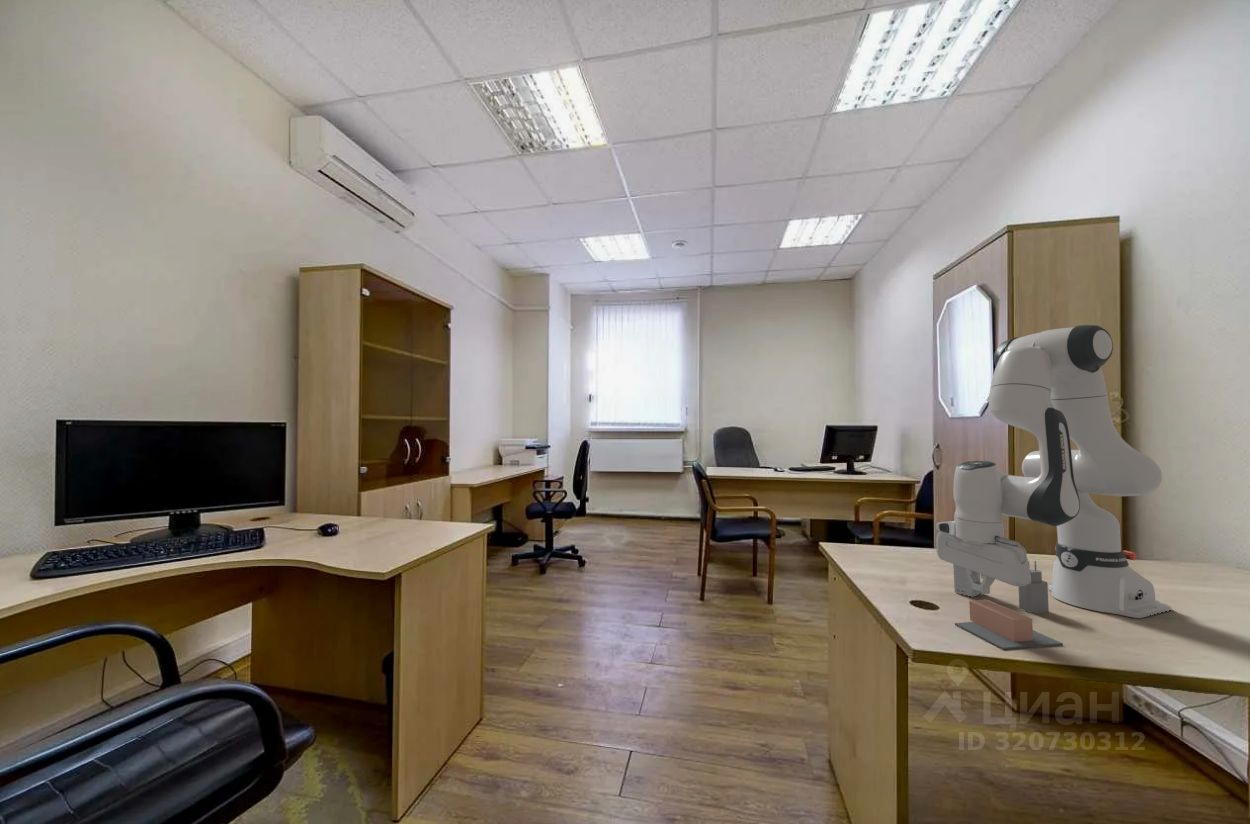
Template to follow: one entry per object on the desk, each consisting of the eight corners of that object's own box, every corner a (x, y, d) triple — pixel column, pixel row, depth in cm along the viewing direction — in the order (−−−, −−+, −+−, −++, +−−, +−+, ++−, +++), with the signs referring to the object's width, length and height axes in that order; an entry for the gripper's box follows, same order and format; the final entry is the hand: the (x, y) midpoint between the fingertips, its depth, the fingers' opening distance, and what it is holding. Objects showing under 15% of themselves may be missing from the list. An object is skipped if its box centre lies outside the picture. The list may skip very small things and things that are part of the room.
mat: (1009, 621, 99) (1009, 619, 99) (1062, 645, 88) (1062, 643, 88) (954, 624, 97) (954, 623, 97) (1002, 649, 86) (1002, 647, 86)
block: (986, 599, 99) (1032, 618, 90) (987, 619, 99) (1033, 640, 89) (969, 600, 99) (1013, 619, 89) (970, 620, 99) (1014, 641, 89)
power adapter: (1017, 608, 106) (1015, 559, 107) (1037, 607, 107) (1035, 558, 107) (1030, 613, 103) (1028, 563, 103) (1050, 612, 104) (1048, 562, 104)
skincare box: (973, 598, 112) (971, 551, 113) (953, 592, 116) (951, 547, 117) (982, 592, 116) (980, 548, 116) (962, 587, 120) (960, 544, 120)
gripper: (1038, 542, 89) (1041, 610, 88) (953, 521, 109) (954, 576, 109) (1011, 544, 88) (1014, 611, 88) (930, 522, 109) (932, 577, 108)
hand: (980, 591), depth 98 cm, fingers closed
